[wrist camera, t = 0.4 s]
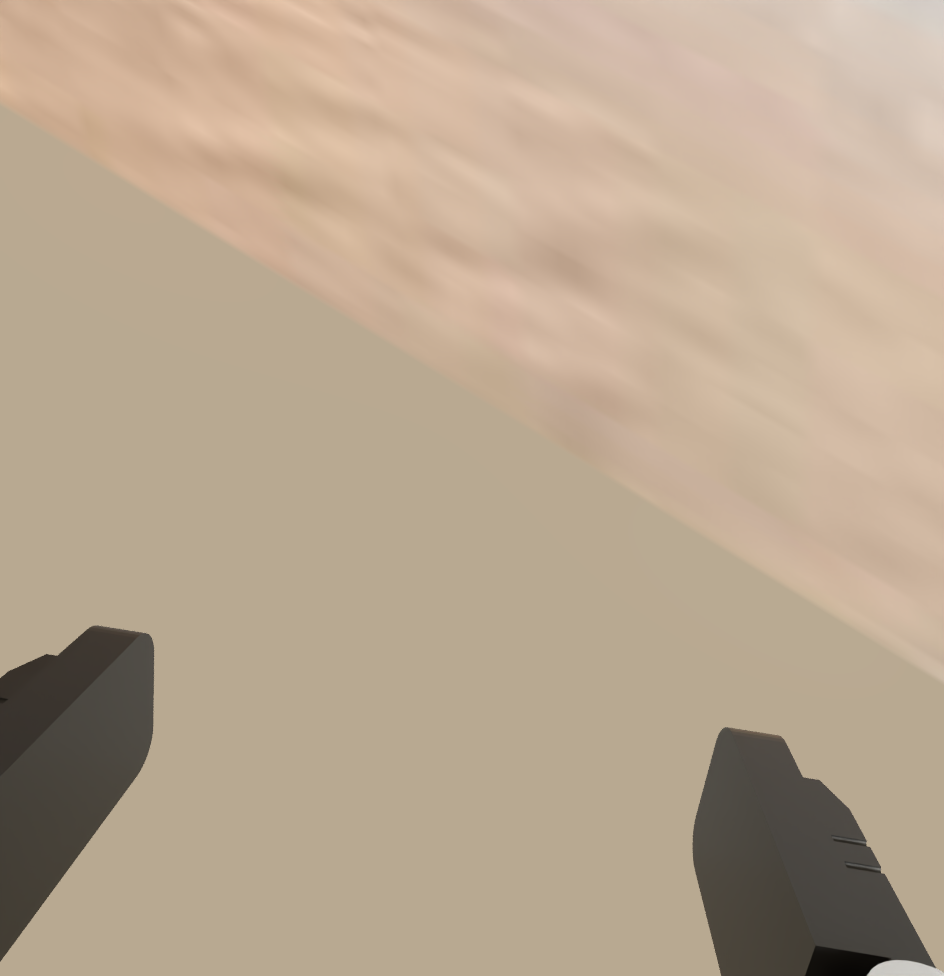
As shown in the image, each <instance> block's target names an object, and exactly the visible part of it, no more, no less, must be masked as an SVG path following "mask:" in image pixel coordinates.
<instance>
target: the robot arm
mask: <svg viewBox="0 0 944 976" xmlns="http://www.w3.org/2000/svg"><path fill="white" fill-rule="evenodd" d="M153 694H154V645H153V641H152V638H151V636H150V635H149V634H146V633H141V632H135V631H128V630H122V629H116V628H109V627H103V626H92V627H90V628H89V629H87V630H86V631H85V632H84V633H83V634H82V635H80V636H79V637H78V638H77V639H76V640H75V641H74V642H72V643H71V644H70V645H69V646H68V647H67V648H66V649H65V650H63V651H62V652H61V653H60V654H59V655H58V656H54V655H48V654H46V655H44V656H42V657H39V658H37V659H35V660H33V661H31V662H28V663H26V664H24V665H22V666H19V667H17V668H15V669H13V670H11V671H9V672H7V673H6V674H5V675H4V676H2V677H1V678H0V961H1V960H2V958H3V957H4V956H5V954H6V953H7V952H8V950H9V949H10V948H11V946H12V945H13V944H14V942H15V941H16V940H17V938H18V937H19V935H20V934H21V933H22V931H23V930H24V929H25V927H26V926H27V925H28V923H29V922H30V921H31V919H32V918H33V916H34V915H35V914H36V912H37V911H38V910H39V908H40V907H41V905H42V904H43V903H44V901H45V900H46V899H47V897H48V896H49V895H50V893H51V892H52V891H53V889H54V888H55V887H56V885H57V884H58V883H59V881H60V880H61V878H62V877H63V876H64V874H65V873H66V872H67V870H68V869H69V868H70V866H71V865H72V864H73V862H74V861H75V859H76V858H77V857H78V855H79V854H80V853H81V851H82V850H83V849H84V847H85V846H86V844H87V843H88V842H89V840H90V839H91V838H92V836H93V835H94V834H95V832H96V831H97V830H98V828H99V827H100V825H101V824H102V823H103V821H104V820H105V819H106V817H107V816H108V815H109V813H110V812H111V810H112V809H113V808H114V806H115V805H116V804H117V802H118V801H119V800H120V798H121V797H122V795H123V794H124V793H125V791H126V790H127V789H128V787H129V786H130V785H131V783H132V782H133V781H134V779H135V778H136V777H137V775H138V773H139V772H140V770H141V768H142V766H143V764H144V762H145V760H146V757H147V755H148V751H149V748H150V744H151V740H152V734H153ZM693 861H694V867H695V872H696V875H697V880H698V884H699V888H700V892H701V896H702V900H703V904H704V908H705V911H706V916H707V919H708V924H709V928H710V932H711V936H712V939H713V944H714V948H715V952H716V955H717V960H718V964H719V968H720V972H721V976H944V972H942V971H940V970H938V969H936V967H935V966H934V964H933V962H932V960H931V958H930V956H929V955H928V953H927V951H926V949H925V947H924V945H923V944H922V942H921V940H920V938H919V936H918V934H917V933H916V931H915V929H914V927H913V925H912V924H911V922H910V920H909V918H908V916H907V914H906V912H905V910H904V909H903V907H902V905H901V903H900V902H899V899H898V898H897V896H896V894H895V892H894V890H893V888H892V887H891V885H890V883H889V881H888V879H887V877H886V876H885V874H881V866H880V865H879V863H878V861H877V859H876V857H875V855H874V853H873V852H872V850H871V848H870V847H867V846H866V839H865V837H864V835H863V833H862V832H861V830H860V828H859V826H858V824H857V822H856V820H855V819H854V817H853V815H852V813H851V811H850V810H849V808H848V807H846V806H845V805H844V804H843V803H842V802H841V801H840V800H839V799H838V798H837V797H836V796H835V795H834V794H833V793H832V792H831V791H830V790H829V789H828V788H827V787H826V786H825V785H824V784H823V783H822V782H821V781H820V780H815V779H809V778H803V777H802V775H801V773H800V771H799V769H798V767H797V765H796V763H795V760H794V758H793V756H792V754H791V752H790V750H789V748H788V746H787V744H786V743H785V741H784V739H783V738H782V737H781V736H778V735H772V734H765V733H759V732H753V731H747V730H740V729H734V728H728V727H727V728H726V727H725V728H723V729H722V730H721V732H720V733H719V735H718V738H717V741H716V744H715V748H714V752H713V755H712V759H711V763H710V766H709V770H708V774H707V778H706V781H705V785H704V789H703V792H702V796H701V800H700V804H699V807H698V811H697V815H696V819H695V824H694V831H693Z"/></svg>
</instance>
